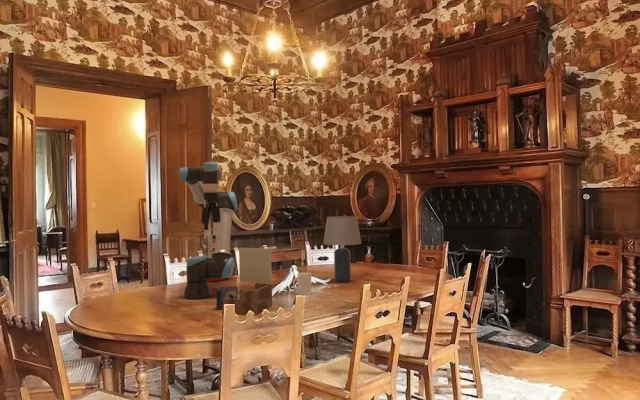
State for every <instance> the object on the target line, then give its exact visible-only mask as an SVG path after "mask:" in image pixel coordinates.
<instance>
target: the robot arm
mask: <svg viewBox="0 0 640 400" xmlns="http://www.w3.org/2000/svg"><path fill="white" fill-rule="evenodd" d="M222 176H223V173H222V171H221V169H220V168H219V163H218V162H215V161H214V162H213V161H209V162H208V161H207V162H204V163H203V167H194V166H192V167H189V166H188V167H187V166H186V167H180V168H179V171H178V179H179V181H180V182H183V183H184V182H186V184H187V185H188V187H189V190H190V191H191V193H192V198H193V199H192V200H193V201H194V203H195V204H196V205H197V206H198V207H200V208H201V209H202V211H201V212H202V215H201V223H202V225H203V224H204V225H203V226H204V227H203V228H204V233H203V234H204V237H211V224H210V219H211V215H212V220H213V222H212V230H213V231H212V235H213V236H215V244H214V252H213V253H211V257H208V255H206V254H205V255H196V256H192V257H189V258H187V260H186V267H185V268H186V285H185V286H186V287H185V288H184V292H183V298H184V299H185V300H186V299H188V300H200V299H208V298H210V297H212V291H211V289H210V285H209V281H208V278H224V279H229V278H231V277H233V274H234V270H235V258H234V257H233V254H232V253H231V252H230V250H231V235H232V234H231V233H232V232H231V231H232V216H233V215H235V212H236V211H238V203H237V202H238V201H237V197H236V193H235V192H234V191H219V187H220V186H219V181H220V180H221V179H222Z"/></svg>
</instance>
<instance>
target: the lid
mask: <svg viewBox="0 0 640 400" xmlns="http://www.w3.org/2000/svg"><path fill="white" fill-rule="evenodd" d="M238 251H239V253H238V256H239V260H238V261H239V265H238V267H239V282H240V283H254V284H256V283H261V284H273V279H272V277H273V275H272V274H273V273H272V270H273V269H272V268H273V267H272V248H268V247H267V248H263V247H262V248H259V247H257V248H256V247H239V248H238Z"/></svg>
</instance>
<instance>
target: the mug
mask: <svg viewBox="0 0 640 400" xmlns="http://www.w3.org/2000/svg"><path fill="white" fill-rule="evenodd" d="M296 280H297V287H296V286H295V281H296ZM292 283H293V287H294V289H295V290H297V291H296V292H297V295H298V296H309V295H312V294H313V293H312V273H311V272H298V273H297V275H296V276H295V278H294V280H293V282H292Z"/></svg>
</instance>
